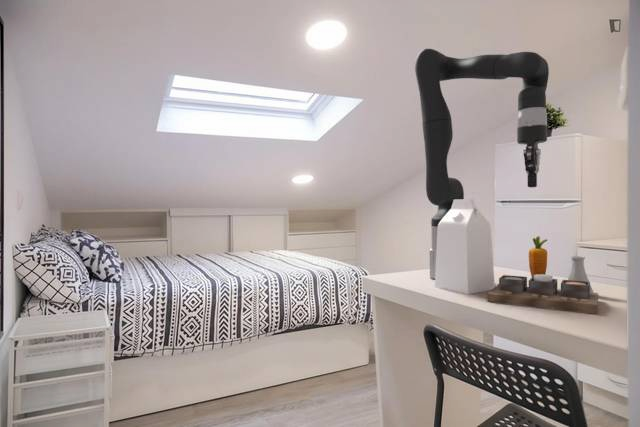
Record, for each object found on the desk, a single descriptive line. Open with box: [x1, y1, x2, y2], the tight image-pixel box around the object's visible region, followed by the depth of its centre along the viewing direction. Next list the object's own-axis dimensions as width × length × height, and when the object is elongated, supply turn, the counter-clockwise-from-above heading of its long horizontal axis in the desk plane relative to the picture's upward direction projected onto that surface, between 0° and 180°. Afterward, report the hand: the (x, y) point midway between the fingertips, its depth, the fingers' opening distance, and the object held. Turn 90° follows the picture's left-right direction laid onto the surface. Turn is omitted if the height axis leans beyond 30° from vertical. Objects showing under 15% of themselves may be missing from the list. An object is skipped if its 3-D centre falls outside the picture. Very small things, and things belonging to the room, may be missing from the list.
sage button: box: [504, 277, 522, 280], centre depth 108 cm, size 4×4×2 cm
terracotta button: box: [566, 282, 586, 285], centre depth 100 cm, size 4×4×2 cm
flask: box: [567, 255, 595, 293], centre depth 110 cm, size 7×7×10 cm
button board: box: [486, 274, 599, 315], centre depth 103 cm, size 23×14×5 cm, turn 55°
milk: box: [434, 198, 496, 295], centre depth 120 cm, size 12×12×26 cm
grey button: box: [534, 274, 554, 283], centre depth 104 cm, size 4×4×2 cm
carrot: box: [528, 235, 548, 278], centre depth 119 cm, size 5×5×15 cm
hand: (532, 187), depth 117 cm, fingers closed
